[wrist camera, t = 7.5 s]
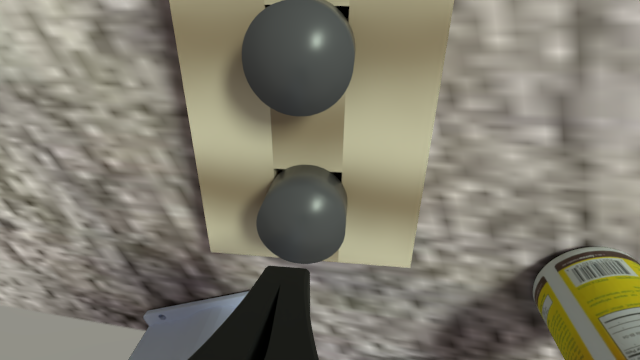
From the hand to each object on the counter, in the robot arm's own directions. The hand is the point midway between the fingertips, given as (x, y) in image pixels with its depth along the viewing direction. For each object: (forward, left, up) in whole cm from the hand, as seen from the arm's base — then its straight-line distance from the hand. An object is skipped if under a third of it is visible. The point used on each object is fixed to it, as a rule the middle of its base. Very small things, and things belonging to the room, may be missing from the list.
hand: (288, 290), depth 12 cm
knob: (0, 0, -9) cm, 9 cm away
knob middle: (+2, +6, -8) cm, 11 cm away
